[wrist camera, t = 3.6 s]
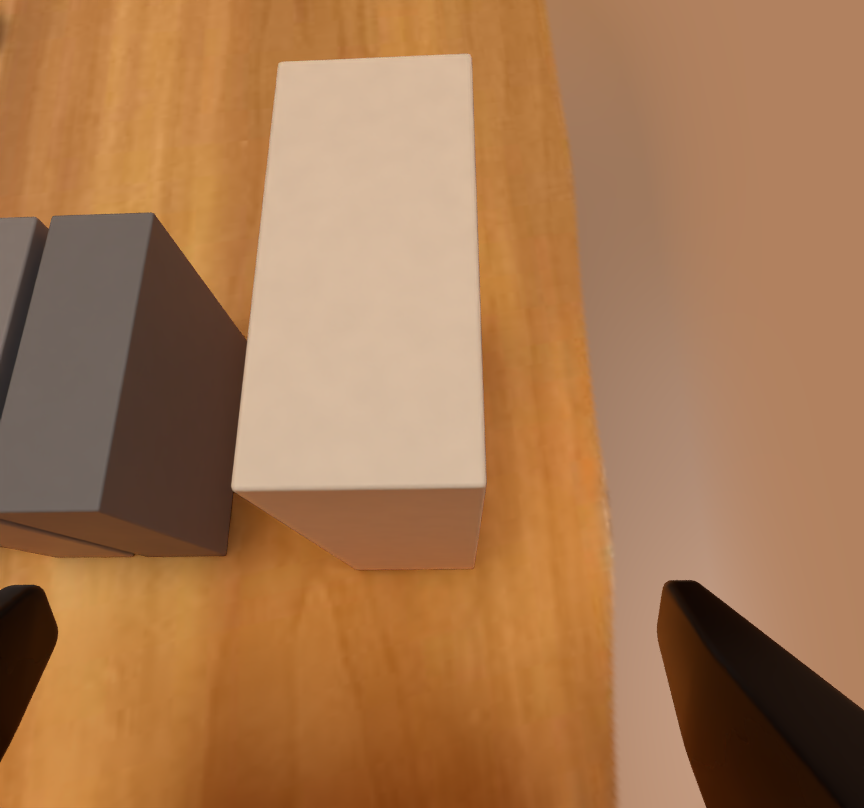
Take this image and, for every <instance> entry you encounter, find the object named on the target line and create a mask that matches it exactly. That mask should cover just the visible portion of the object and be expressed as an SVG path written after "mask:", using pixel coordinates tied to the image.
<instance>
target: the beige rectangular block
mask: <svg viewBox="0 0 864 808" xmlns="http://www.w3.org/2000/svg"><path fill="white" fill-rule="evenodd" d="M486 484H487V478H486V449H485V421H484V392H483V363H482V334H481V305H480V276H479V248H478V219H477V190H476V161H475V132H474V103H473V74H472V58H471V55H470V54H449V55H426V56H403V57H380V58H357V59H334V60H312V61H289V62H280V63H279V64H278V71H277V80H276V89H275V98H274V106H273V115H272V124H271V133H270V142H269V151H268V160H267V169H266V178H265V187H264V196H263V205H262V214H261V223H260V232H259V241H258V250H257V259H256V268H255V277H254V286H253V295H252V304H251V313H250V322H249V330H248V339H247V348H246V357H245V366H244V375H243V384H242V393H241V402H240V411H239V420H238V429H237V438H236V447H235V456H234V465H233V474H232V483H231V488H232V491H233V492H235V493H237V494H238V495H240V496H241V497H243V498H244V499H246V500H248V501H249V502H251V503H252V504H254V505H255V506H257V507H259V508H260V509H262V510H263V511H265V512H266V513H268V514H270V515H271V516H273V517H274V518H276V519H277V520H279V521H280V522H282V523H284V524H285V525H287V526H288V527H290V528H291V529H293V530H295V531H296V532H298V533H299V534H301V535H302V536H304V537H306V538H307V539H309V540H310V541H312V542H313V543H315V544H316V545H318V546H320V547H321V548H323V549H324V550H326V551H327V552H329V553H331V554H332V555H334V556H335V557H337V558H338V559H340V560H342V561H343V562H345V563H346V564H348V565H349V566H351V567H353V568H354V569H356V570H404V569H473V568H474V565H475V558H476V552H477V545H478V538H479V531H480V525H481V518H482V511H483V504H484V498H485V491H486Z"/></svg>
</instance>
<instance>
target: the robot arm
mask: <svg viewBox="0 0 864 808" xmlns="http://www.w3.org/2000/svg"><path fill="white" fill-rule="evenodd" d="M657 636H658V642H659V647H660V651H661V654H662V658H663V662H664V667H665V671H666V675H667V678H668V682H669V687H670V691H671V695H672V699H673V703H674V707H675V711H676V715H677V719H678V723H679V727H680V731H681V735H682V738H683V742H684V746H685V749H686V752H687V755H688V758H689V761H690V764H691V767H692V770H693V773H694V775H695V778H696V781H697V783H698V786H699V789H700V792H701V794H702V797H703V800H704V802H705V805H706V808H864V710H863V709H862V708H860V707H859V706H858V705H856V704H855V703H854V702H852V701H851V700H850V699H848V698H847V697H846V696H845V695H843V694H842V693H841V692H840V691H838V690H837V689H836V688H834V687H833V686H832V685H831V684H829V683H828V682H827V681H825V680H824V679H823V678H821V677H820V676H819V675H818V674H816V673H815V672H814V671H812V670H811V669H810V668H808V667H807V666H806V665H805V664H803V663H802V662H801V661H799V660H798V659H797V658H795V657H794V656H793V655H792V654H790V653H789V652H788V651H786V650H785V649H784V648H783V647H781V646H780V645H779V644H777V643H776V642H775V641H773V640H772V639H771V638H769V637H768V636H767V635H765V634H764V633H763V632H762V631H761V630H759V629H758V628H757V627H755V626H754V625H753V624H751V623H750V622H749V621H748V620H746V619H745V618H744V617H742V616H741V615H740V614H738V613H737V612H736V611H735V610H733V609H732V608H731V607H729V606H728V605H727V604H726V603H724V602H723V601H722V600H720V599H719V598H717V597H716V596H715V595H714V594H712V593H711V592H710V591H709V590H707V589H706V588H704V587H703V586H702V585H701V584H699V583H698V582H696V581H692V580H675V581H674V580H673V581H672V580H671V581H668V582H666V583H665V584H664V587H663V590H662V596H661V603H660V609H659V616H658V623H657ZM57 638H58V627H57V624H56V621H55V618H54V616H53V613H52V610H51V608H50V605H49V602H48V600H47V597H46V594H45V592H44V590H43V589H42V588H41V587H39V586H36V585H12V586H8V587H5V588H3V589H1V590H0V762H1V760H2V758H3V756H4V754H5V752H6V750H7V749H8V747H9V745H10V743H11V741H12V739H13V737H14V734H15V732H16V730H17V728H18V726H19V724H20V722H21V720H22V717H23V715H24V713H25V711H26V709H27V707H28V704H29V702H30V700H31V698H32V696H33V693H34V691H35V689H36V687H37V685H38V682H39V680H40V678H41V676H42V674H43V671H44V669H45V667H46V665H47V663H48V661H49V658H50V656H51V654H52V652H53V650H54V647H55V645H56V642H57Z"/></svg>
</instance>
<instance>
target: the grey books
mask: <svg viewBox="0 0 864 808" xmlns="http://www.w3.org/2000/svg"><path fill="white" fill-rule="evenodd" d="M246 348H247V341H246V339H245V338H244V336H243V335H242V334H241V332H240V331H239V330H238V328H237V327H236V325H235V324H234V323H233V321H232V320H231V319H230V317H229V316H228V314H227V313H226V312H225V310H224V309H223V308H222V306H221V305H220V303H219V302H218V301H217V299H216V298H215V297H214V295H213V294H212V292H211V291H210V290H209V288H208V287H207V286H206V284H205V283H204V281H203V280H202V279H201V277H200V276H199V275H198V273H197V272H196V271H195V269H194V268H193V266H192V265H191V264H190V262H189V261H188V260H187V258H186V257H185V255H184V254H183V253H182V251H181V250H180V249H179V247H178V246H177V244H176V243H175V242H174V240H173V239H172V238H171V236H170V235H169V233H168V232H167V231H166V229H165V228H164V227H163V225H162V224H161V222H160V221H159V220H158V218H157V217H156V216H155V214H154V213H125V214H95V215H65V216H53V217H52V219H51V223H50V227H49V229H48V228H47V227H46V226H45V225H44V224H43V223H42V222H41V221H40V220H39V219H38V218H36V217H15V218H0V546H1V547H6V548H11V549H16V550H21V551H26V552H31V553H37V554H42V555H47V556H52V557H131V556H133V555H134V553H135V554H139V555H143V556H147V557H162V556H225V555H226V551H227V542H228V533H229V524H230V515H231V506H232V497H233V491H232V488H231V483H232V474H233V465H234V456H235V447H236V438H237V429H238V420H239V411H240V402H241V393H242V384H243V375H244V366H245V357H246Z"/></svg>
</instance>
